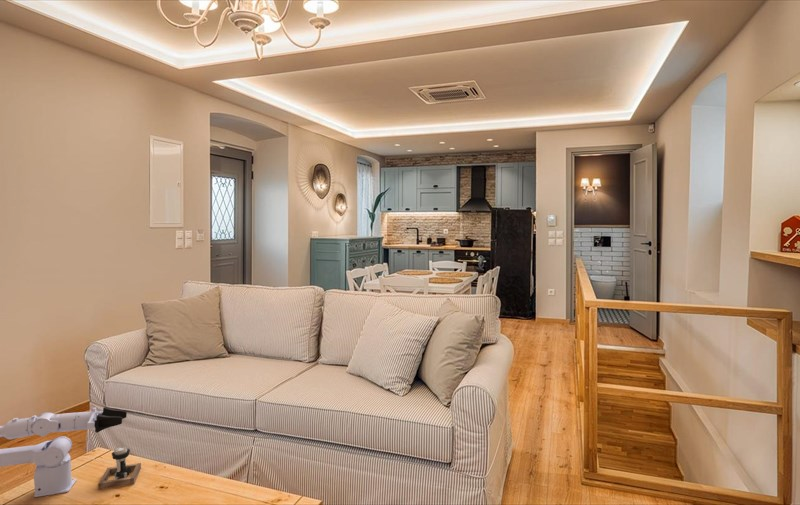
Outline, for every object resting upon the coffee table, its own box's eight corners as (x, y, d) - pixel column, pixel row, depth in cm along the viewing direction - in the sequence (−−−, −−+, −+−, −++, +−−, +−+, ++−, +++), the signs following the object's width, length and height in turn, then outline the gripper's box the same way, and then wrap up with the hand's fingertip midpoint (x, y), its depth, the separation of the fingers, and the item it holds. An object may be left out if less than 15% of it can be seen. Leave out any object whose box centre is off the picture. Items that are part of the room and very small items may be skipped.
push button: (121, 484, 157) (120, 455, 157) (106, 483, 158) (105, 454, 157) (134, 473, 164) (133, 445, 163) (119, 473, 164) (118, 445, 164)
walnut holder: (98, 489, 154) (98, 483, 154) (107, 473, 164) (107, 467, 164) (134, 483, 157) (134, 478, 157) (141, 468, 167) (140, 462, 167)
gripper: (71, 414, 149) (120, 410, 154) (84, 403, 163) (128, 400, 168) (70, 437, 149) (119, 432, 154) (83, 424, 163) (128, 420, 167)
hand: (124, 417), depth 161 cm, fingers open, 7 cm apart
